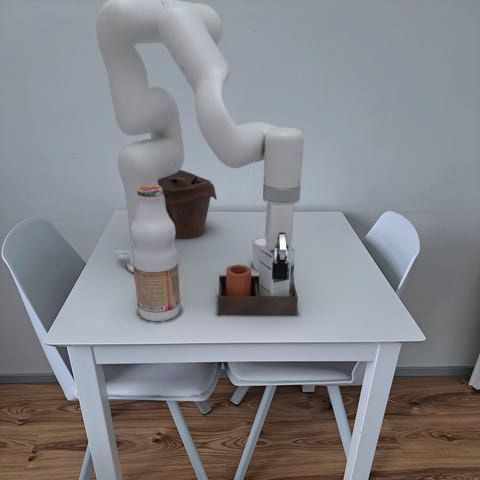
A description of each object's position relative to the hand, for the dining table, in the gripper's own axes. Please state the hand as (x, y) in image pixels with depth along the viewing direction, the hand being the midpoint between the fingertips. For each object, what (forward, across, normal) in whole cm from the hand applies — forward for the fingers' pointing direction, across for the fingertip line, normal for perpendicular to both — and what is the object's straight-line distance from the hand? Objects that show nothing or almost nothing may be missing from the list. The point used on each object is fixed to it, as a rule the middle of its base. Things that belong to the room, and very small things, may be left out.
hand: (277, 269), depth 109 cm
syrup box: (+10, 0, 0) cm, 10 cm away
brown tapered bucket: (+9, -46, -24) cm, 53 cm away
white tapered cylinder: (+9, -21, -1) cm, 23 cm away
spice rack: (+9, 0, -4) cm, 10 cm away
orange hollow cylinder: (+9, 0, -9) cm, 13 cm away
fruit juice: (+9, +3, -26) cm, 28 cm away
